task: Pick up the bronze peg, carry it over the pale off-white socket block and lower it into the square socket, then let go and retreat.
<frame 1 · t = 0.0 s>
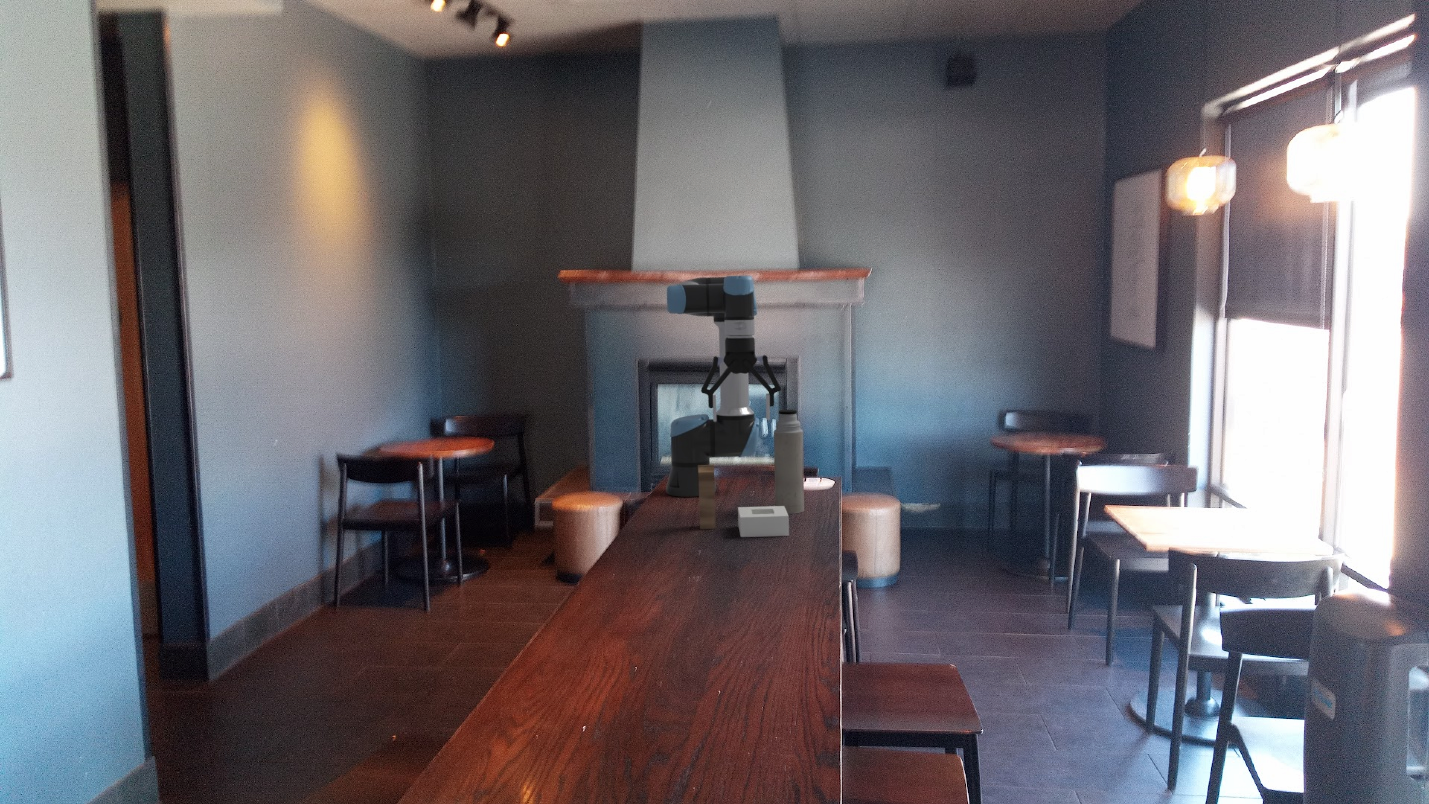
hand: (741, 420, 270), 28 cm above the table, fingers open, 13 cm apart
thermos bottle: (789, 511, 292), on the table
bronze peg: (707, 527, 275), on the table
socket block: (763, 530, 269), on the table
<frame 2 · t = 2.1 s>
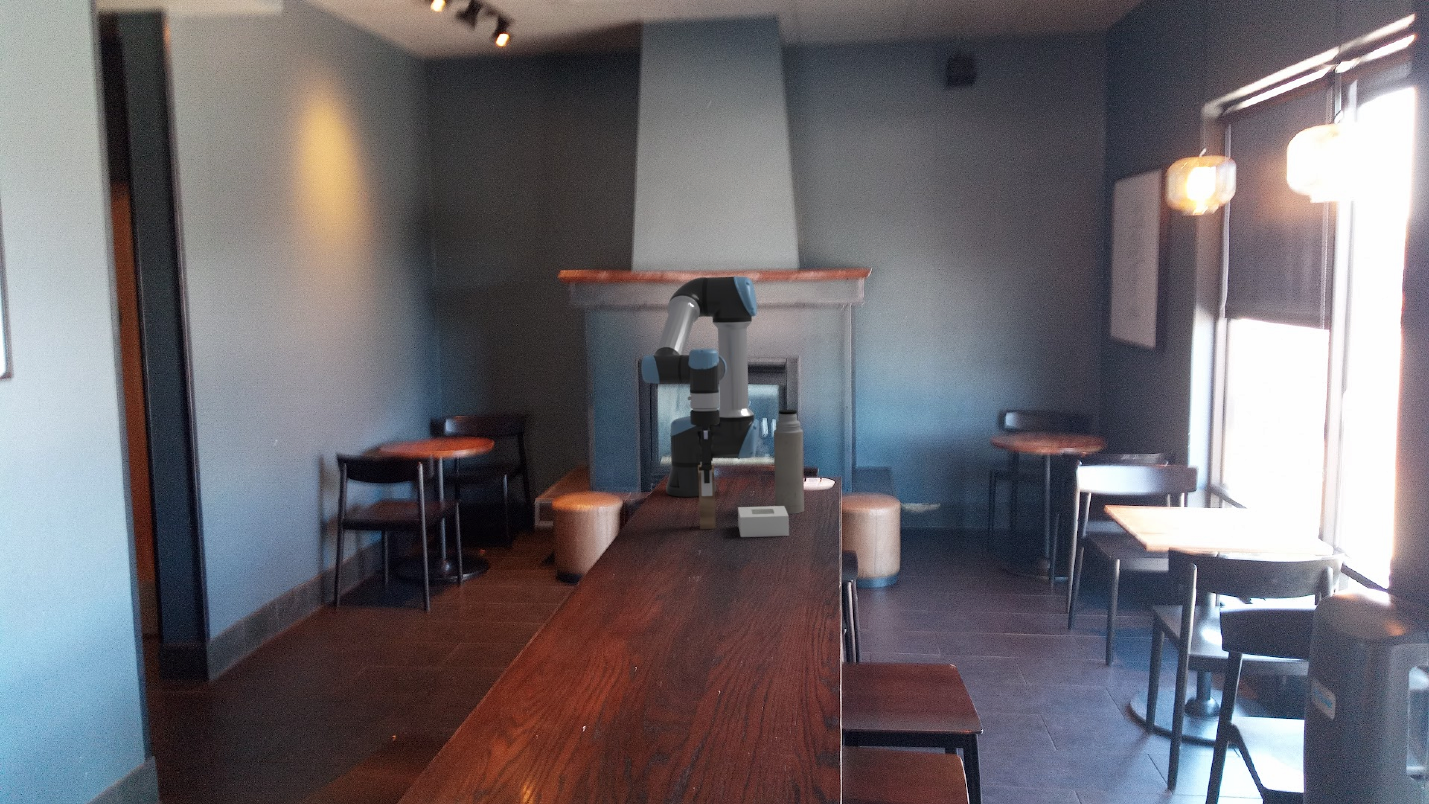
hand: (706, 491, 274), 10 cm above the table, fingers open, 13 cm apart
nothing on the table moved.
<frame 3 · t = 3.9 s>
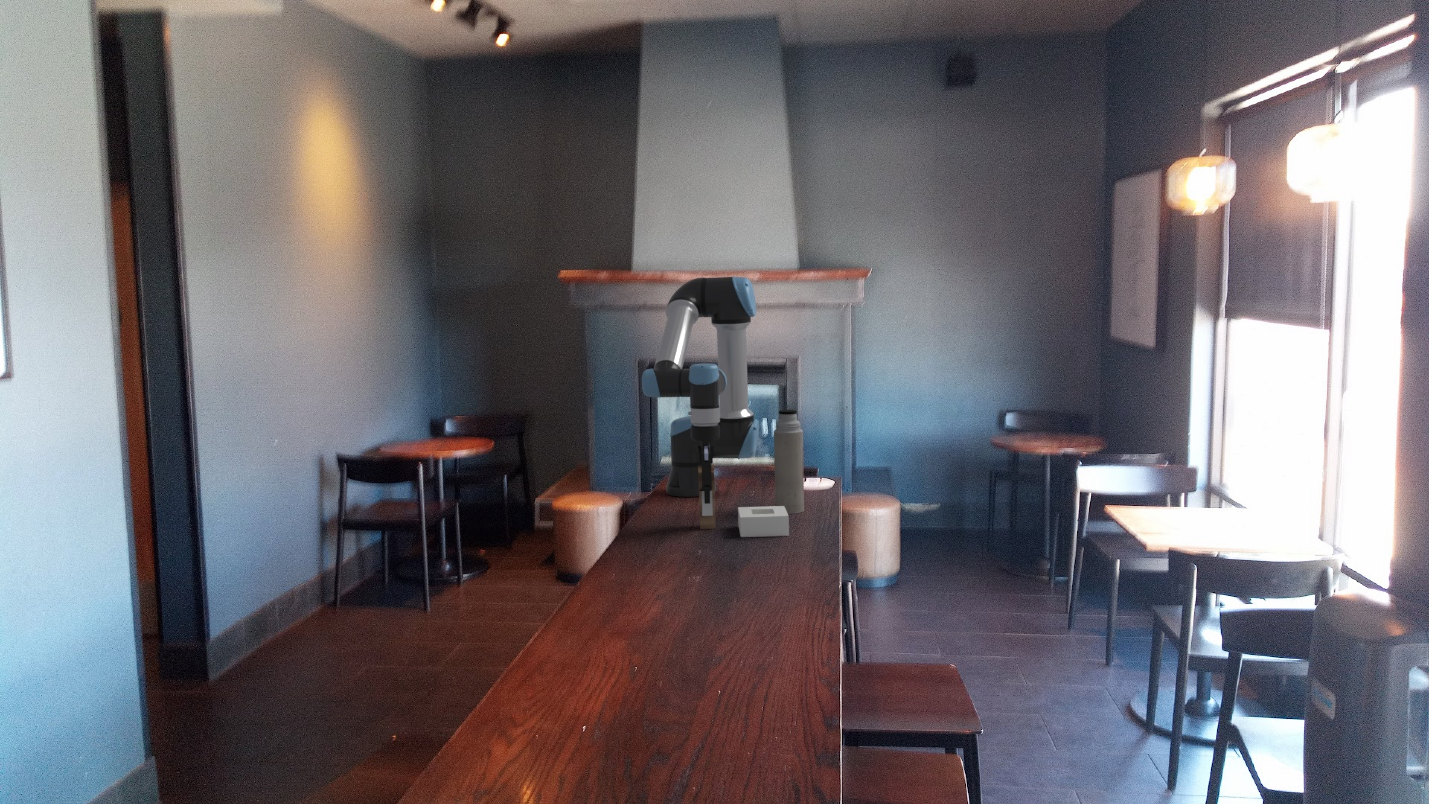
hand: (707, 513, 274), 4 cm above the table, fingers closed on bronze peg, 4 cm apart
bronze peg: (707, 527, 275), on the table, touching gripper
everything else where it was.
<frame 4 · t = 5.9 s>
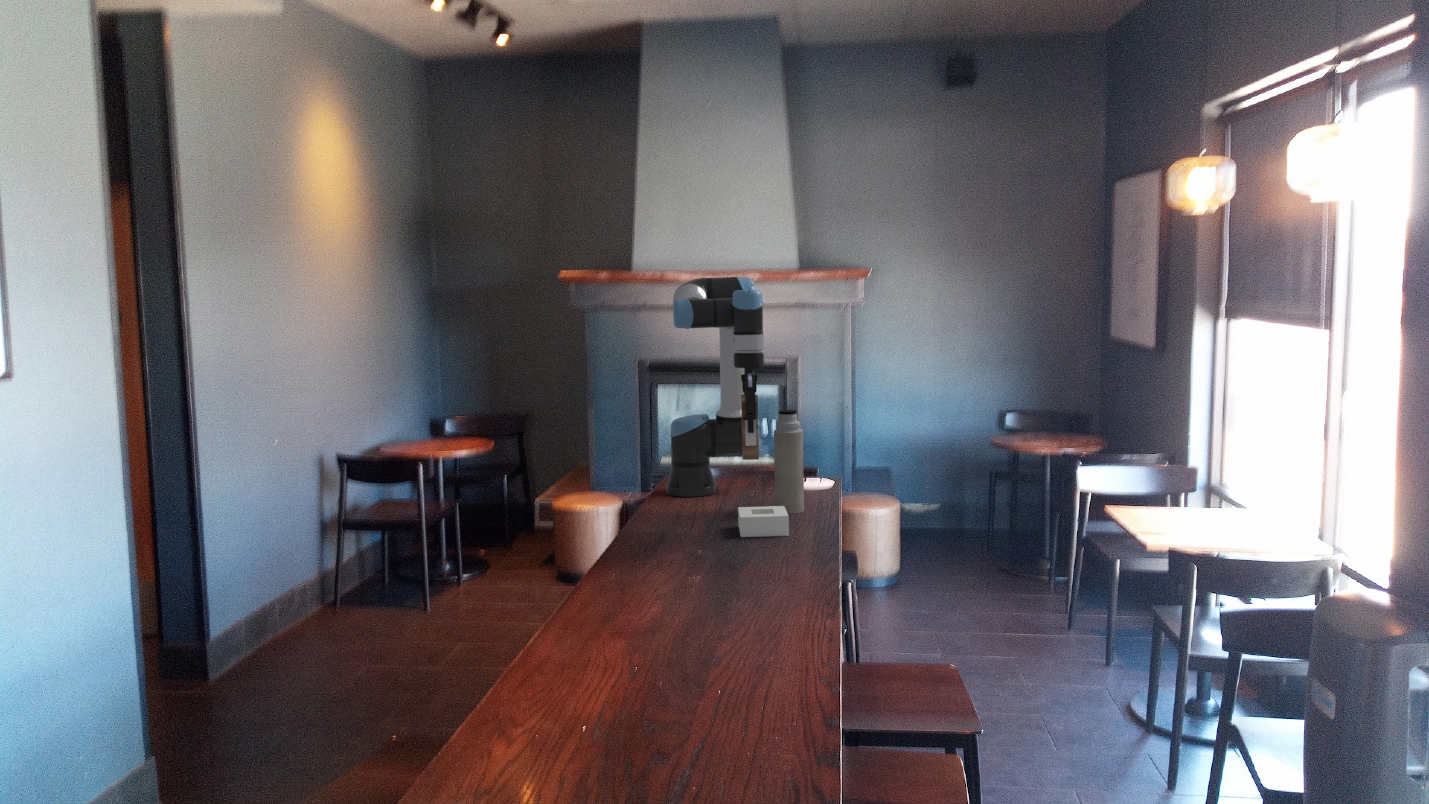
hand: (750, 444, 267), 22 cm above the table, fingers closed on bronze peg, 4 cm apart
bronze peg: (750, 458, 268), point 19 cm above the table, touching gripper
everything else where it was.
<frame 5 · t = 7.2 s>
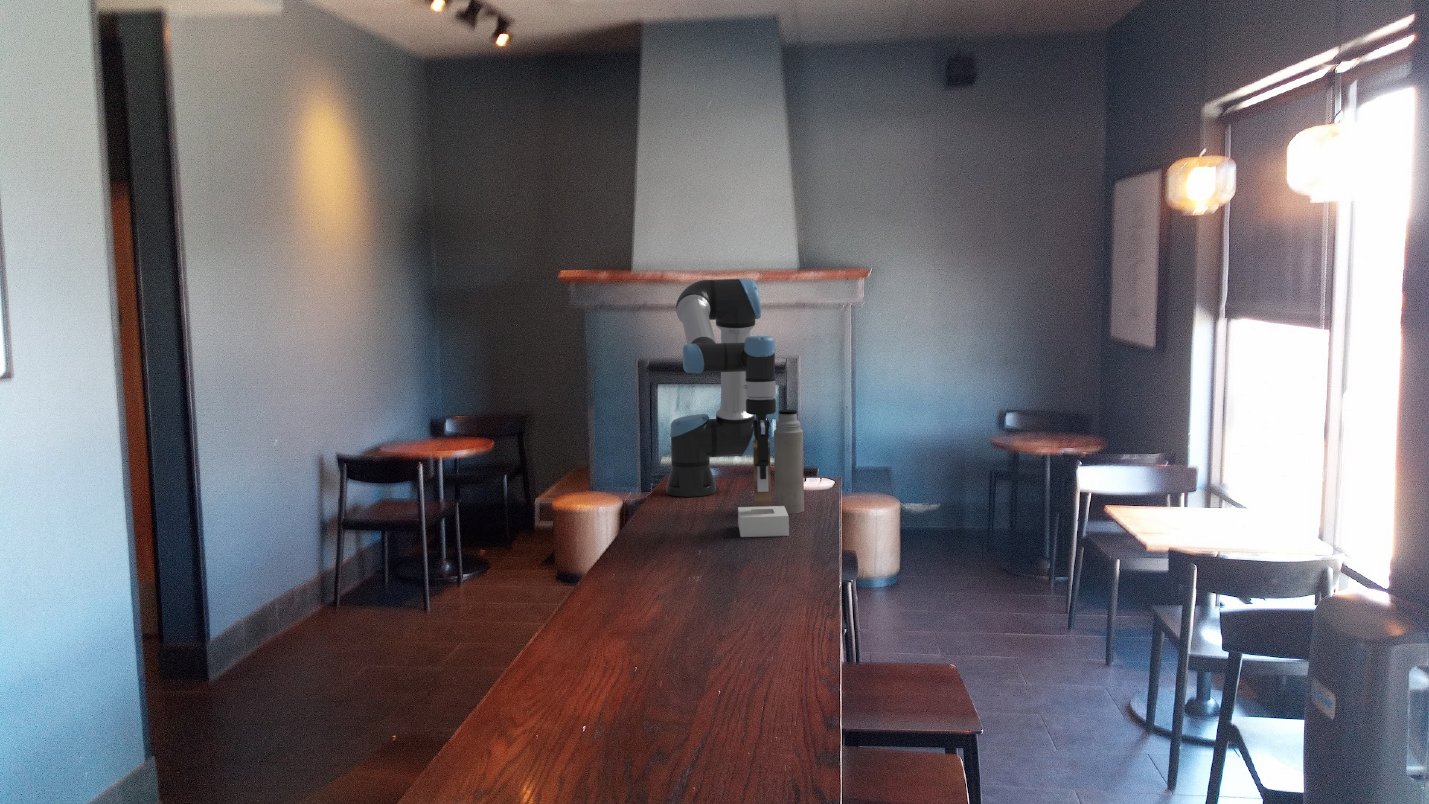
hand: (762, 489, 268), 11 cm above the table, fingers closed on bronze peg, 4 cm apart
bronze peg: (762, 503, 268), point 7 cm above the table, touching gripper
everything else where it was.
when the fingers open (7 cm above the table, at t = 8.2 s): bronze peg drops 3 cm, resting in socket block.
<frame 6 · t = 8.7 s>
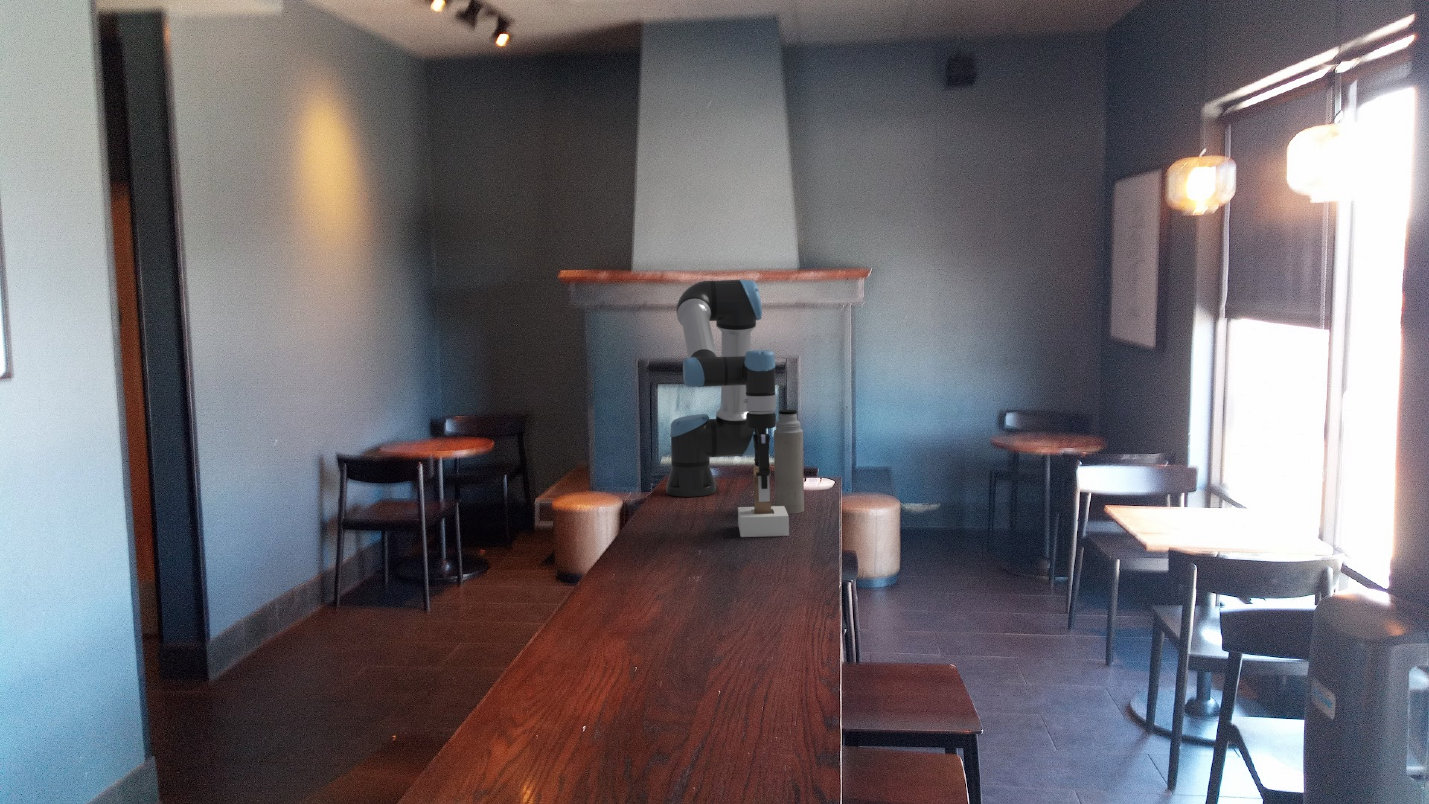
hand: (762, 496, 268), 9 cm above the table, fingers open, 12 cm apart
bronze peg: (763, 530, 269), resting in socket block
everything else where it was.
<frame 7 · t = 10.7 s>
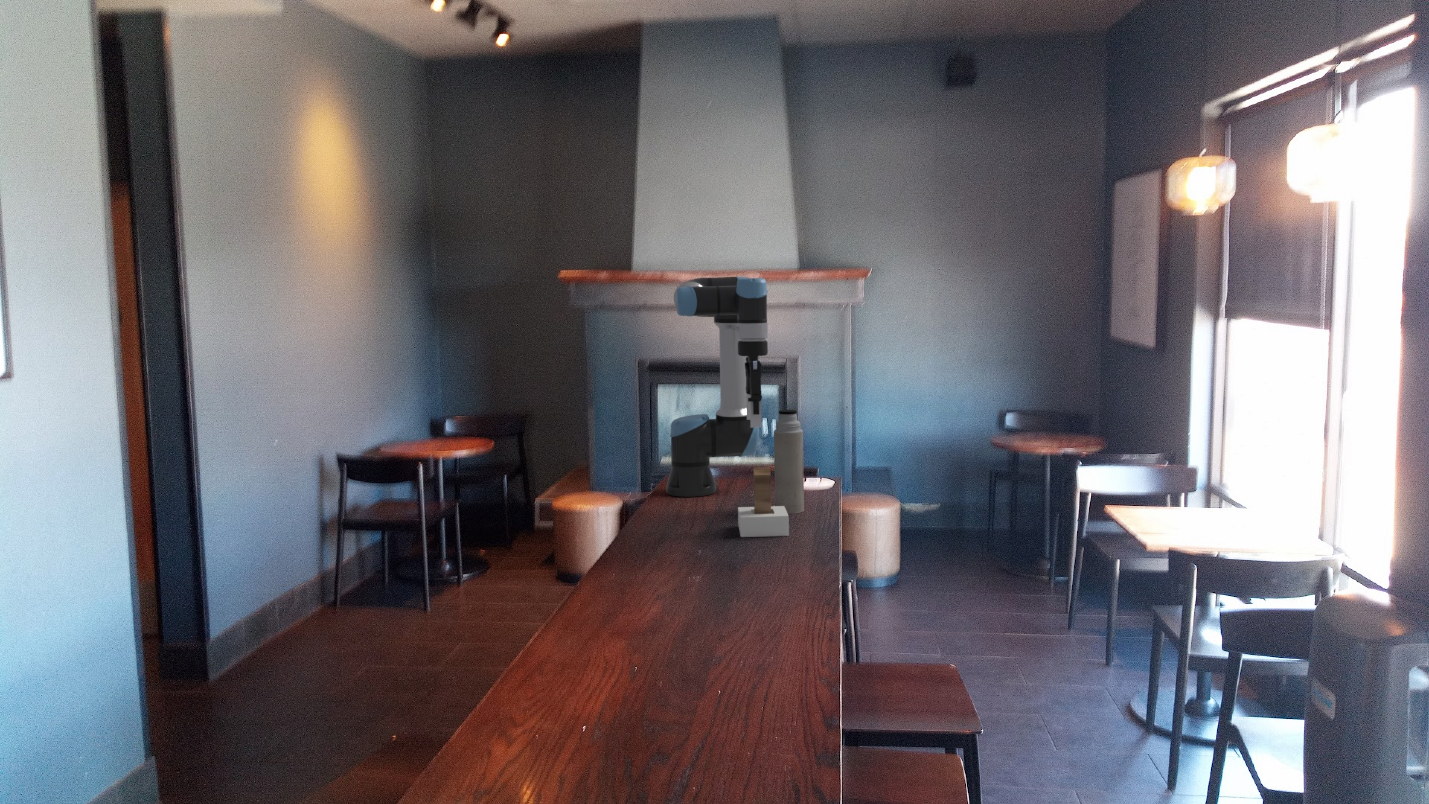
hand: (754, 423, 269), 27 cm above the table, fingers open, 13 cm apart
nothing on the table moved.
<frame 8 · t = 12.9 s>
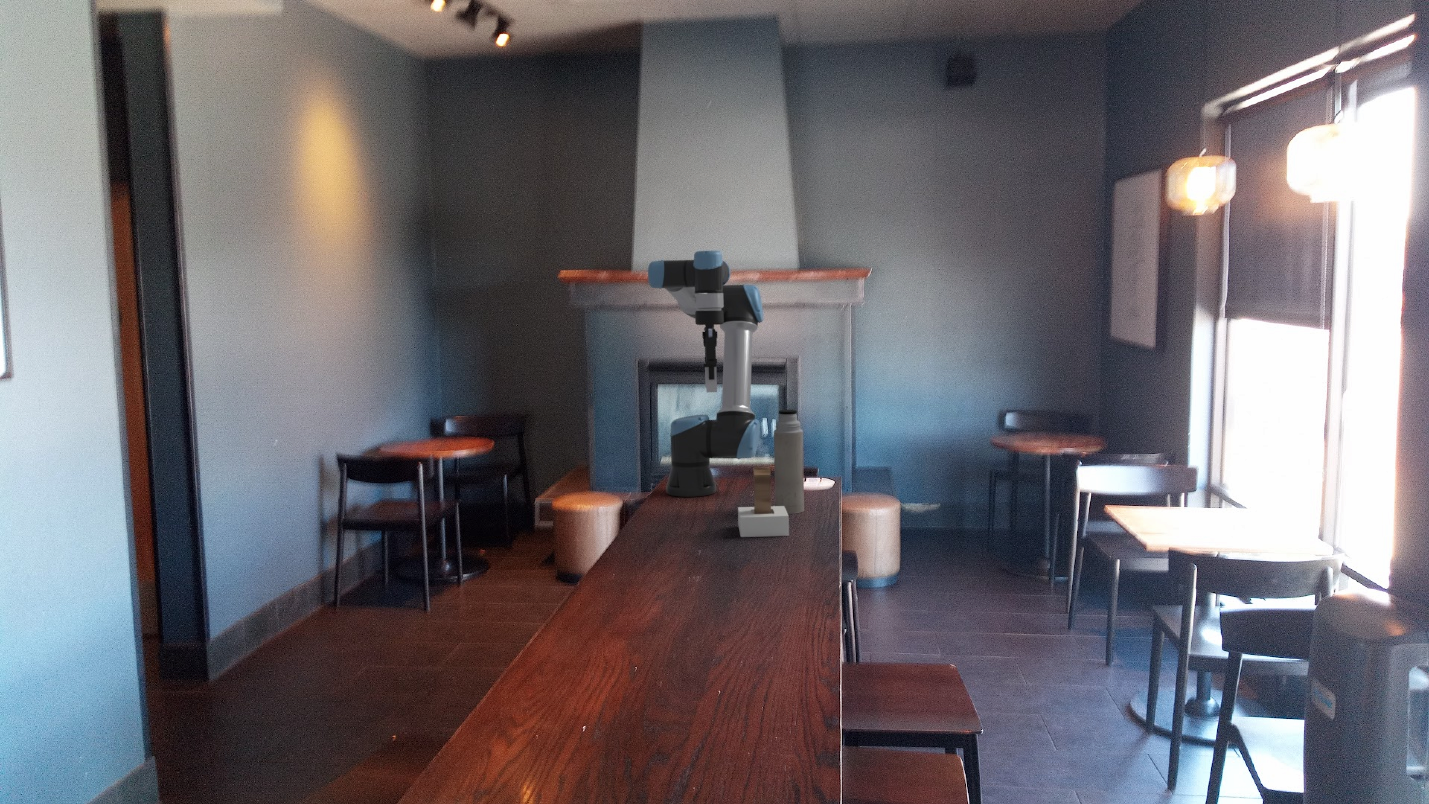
hand: (711, 389, 282), 35 cm above the table, fingers open, 13 cm apart
nothing on the table moved.
at the end: bronze peg 0.0 cm off-centre on the socket block, point 0.0 cm above the socket block's base; bronze peg tilted 0°; the gripper is holding nothing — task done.
